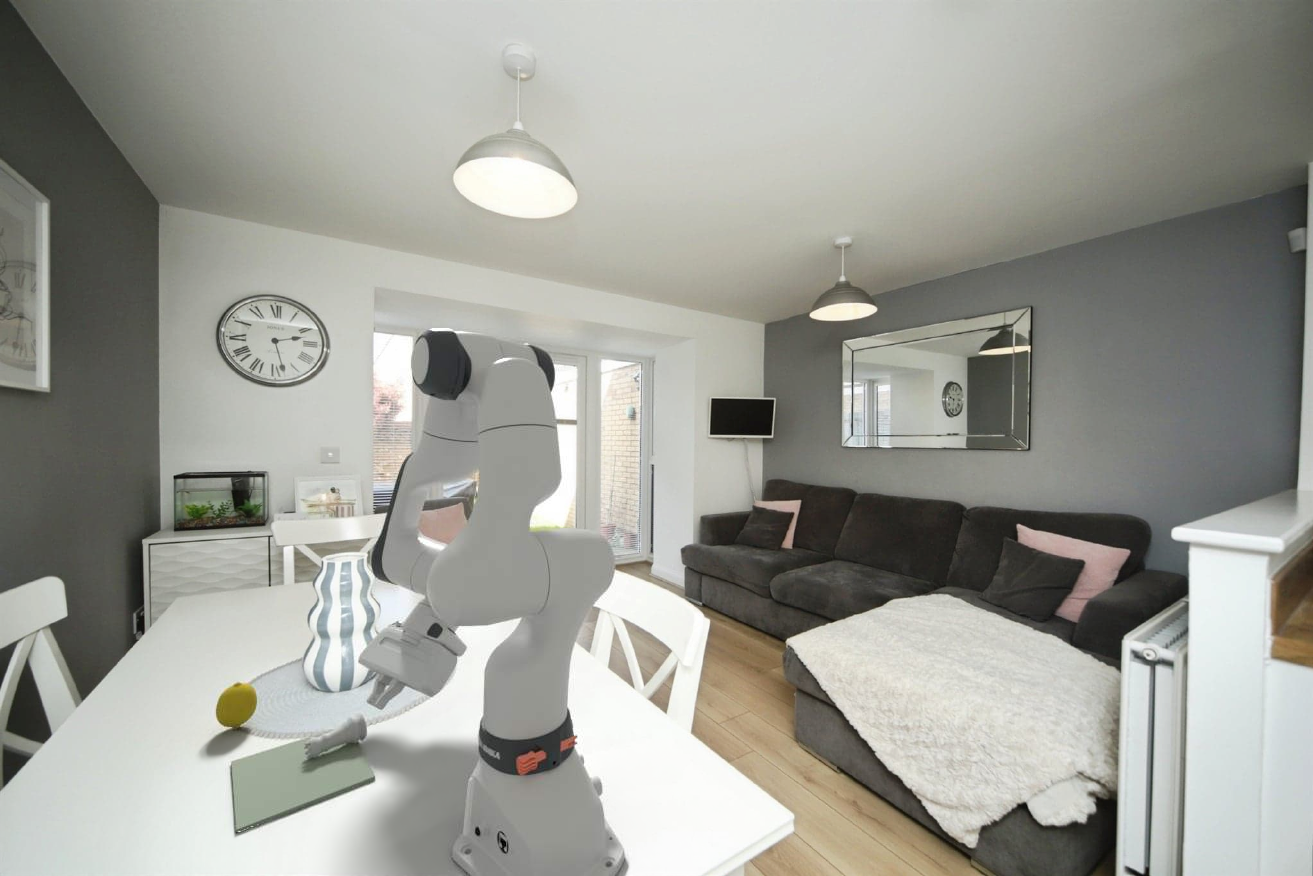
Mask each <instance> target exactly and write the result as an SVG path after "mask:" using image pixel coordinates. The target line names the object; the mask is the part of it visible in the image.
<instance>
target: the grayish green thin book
mask: <svg viewBox="0 0 1313 876" xmlns="http://www.w3.org/2000/svg"><path fill="white" fill-rule="evenodd" d="M334 729H335V728H334ZM334 729H331V730H327V731H323V732H320V733H318V734H315V735H311V736H308V737H305V738H301V739H299V740H294V741H291V742H289V743H286V744H282V745H280V746H276V747H274V748H273V747H272V748H270V749H267V750H264V751H260V752H257V753H253V754H250V755H247V756H244V757H241V758H237V759H234V760H231V761H230V762H231V763H230V766H231V768H232V769H231V779H232V781H233V783H232V794H233V795H234V797H233V806H234V807H233V808H234V810H235V811H234V821H235V822H236V825H235V833H236V832H238V831H242V830H244V829H247V828H249V829H251V828H250V827H251V826H254V827H257V826H258V825H257V824H260V823H262V822H265V823H267V822H269V821H268V820H270V821H272V820H275V819H277V818H279V817H283V816H285V815H287V814H291V813H292V812H296V811H298V810H300V809H303V808H305V807H308V806H311V805H313V804H316V803H319V802H321V801H323V800H327V799H329V798H332V797H334V796H336V795H339V794H342V793H344V792H347V791H350V790H351V789H355V788H358V787H360V786H362V785H365V784H367V783H370V782H373V781H374V780H376V775H375V773H374V771H373V769H372V766H371V764H370V763H369V761H368V759H367V757H366V755H365V752H364V750H363V748H362V746H361V745H360V741H358V742H357V743H355V744H353V743H349V744H347V743H346V744H342V745H339V746H336V747H333V748H331V749H329V750H328V751H327V752H325V751H324V752H322V753H320V754H319V756H318V757H317V758H310V759H307V756H308V754H307V755H306V754H305V752H306V751H308V749H305V748H304V746H305V742H307V741H309V740H310V738H311V737H316V738H317V737H320V736H321V735H322V734H326V733H329V732H331V731H333V730H334ZM271 819H272V820H271ZM266 821H267V822H266ZM235 822H234V823H235ZM262 824H263V823H262ZM256 825H257V826H256ZM260 825H261V824H260ZM247 830H248V829H247ZM244 831H245V830H244ZM242 832H243V831H242Z"/></svg>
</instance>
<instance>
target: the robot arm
mask: <svg viewBox="0 0 1313 876" xmlns="http://www.w3.org/2000/svg"><path fill="white" fill-rule="evenodd" d="M410 369H411V375H412V379H413V380H412V381H413V383H414V385H415V386H416V387H417V388H418V390H420V392H421V393H423V394H425V395H427V396H429V398H428V401H427V405H426V410H425V414H424V418H423V424H422V430H421V436H420V440H419V443H418V445H417V448H416V449H415V450H414V451H413V452H411V453H409V454H408V455H407V456H406V457H405V459H404V460H403V461H402V464H401V467H400V468H399V470H398V471H399V472H398V473H397V477H396V481H395V484H394V488H393V490H392V494H391V497H390V500H389V505H388V509H387V512H386V515H385V520H384V524H383V526H382V529H381V532H380V534H379V536H378V539H377V541H376V542H375V544H374V547H373V549H372V551H371V555H370V565H371V570H372V573H373V576H375V578H376V579H377V580H380V581H381V582H384V583H388V584H392V585H395V586H399V587H402V588H404V589H406V590H409V591H411V592H413V593H416V594H418V595H422V596H424V597H423V598H422V599H420V600H419V601H418V602H417V604H416V605H415V606H414V608H413V609H412V610H411V611H410V613H409V614H408V615H407V616H406V619H405V620H404V621H401V620H396V621H395V622H393V623H391V624H388V626H387V627H385V628H383V629H382V630H381V631H380V632H379V633H377V635H375V637H374V638H373V639H372V640H371V641H370V642H369V643H368V644H367V646H365V648H364V649H363V650H362V651H361V652H360V655H359V656H358V660H357V662H358V664H360V665H361V666H363V668H365V669H367V670H370V671H372V672H374V673H377V674H378V676H377V677H376V678H375V681H374V685H373V689H372V692H371V693H370V695H369V696H368V697H367V699H366V704H369V705H371V706H372V707H375V708H376V709H378V710H380V711H382V710H384V708H386V706H387V705H388V704H389V702H390V701H391V700H393V699H394V698H395V697H397V696H398V695H400V694H401V693H402V692H403V690H404V689H405V687H408V688H410V689H412V690H414V691H417V692H418V693H420V694H423V695H424V696H428V697H430V698H433V697H435V696H436V695H437V694H438V693H440V692H441V690H442V689H443V688H444V687H445V685H446V684H447V682H448V680H449V679H450V677H451V675H452V673H454V671H455V669H456V667H457V664H458V658H460V657H462V656H463V655H464V654H465V652H466V650H467V648H468V647H467V644H465V642H464V641H463V639H461V638H460V637H459V636H458V634H457V633H456V631H457V630H458V629H459V627H480V626H481V627H483V626H484V627H485V626H492V625H495V624H498V623H499V624H500V623H503V622H508V621H513V620H517V619H520V620H519V622H518V624H517V625H516V627H515V629H514V630H513V631H512V632H511V633H510V635H508V637H506V638H505V639H504V640H503V641H502V642H501V643H499V644H498V645H497V646H496V647H495V648H494V649H493V651H492V652H491V654H490V655H489V657H488V659H487V662H486V665H485V667H484V674H483V676H484V679H483V680H484V681H483V710H482V711H483V714H482V716H481V719H480V721H479V722H480V723H479V729H478V734H477V736H478V737H477V741H478V753H479V758H478V761H477V763H476V766H475V768H474V769H473V772H472V773H471V775H470V777H469V779H468V782H467V786H466V787H467V788H466V798H465V808H464V817H463V818H464V819H463V828H462V833H461V834H460V835H459V836H458V838H457V839H456V840H455V842H454V843H453V845H452V851H451V859H453V861H454V862H456V863H457V865H459V866H460V868H462V870H464V872H466V873H467V874H468V875H469V876H616V875H617V874H618V872H619V871H620V869H621V867H622V866H623V863H624V862H625V861H624V860H625V849H624V847H623V845H622V843H621V842H620V839H619V838H618V837H617V835H616V833H615V832H614V830H613V829H612V827H611V826H610V824H609V822H608V821H607V820H606V818H605V812H604V807H603V803H602V799H600V797H601V796H602V795H603V785H602V781H601V779H600V777H599V776H598V775H597V776H596V775H595V776H592V777H590V776H589V772H588V771H587V769H586V766H585V758H584V755H583V754H578V752H577V749H576V747H575V746H576V745H578V742H577V741H576V739H578V735H575V732H574V723H573V720H572V716H571V711H570V709H569V707H568V702H569V701H568V699H569V683H570V682H569V681H570V671H571V670H570V669H571V660H572V655H573V651H574V648H575V643H576V641H577V638H578V635H579V633H580V630H581V629H582V627H583V624H584V622H585V621H586V618H587V616H588V614H589V613H590V611H591V610H592V608H593V607H594V605H595V604H596V602H598V600H599V599H600V598H601V596H603V595H604V594H605V593H606V592H607V591H608V589H609V588H610V586H611V585H612V583H613V579H614V576H615V572H616V558H615V554H614V550H613V548H612V545H611V543H610V542H609V541H608V539H607V538H606V537H605V536H604V534H602V533H601V532H599V531H597V530H592V529H586V528H585V529H583V528H576V527H575V528H574V527H565V528H564V527H563V528H555V529H553V528H552V529H546V530H537V531H531V529H530V524H531V519H532V515H533V513H534V511H535V508H536V507H537V506H539V505H540V504H542V503H544V502H545V501H546V500H548V499H550V497H552V496H553V495H554V494H555V492H556V491H558V489H559V487H560V484H561V483H562V482H561V481H562V479H563V478H562V477H563V476H562V466H561V455H560V444H559V443H560V441H559V434H558V433H559V432H558V431H559V430H558V426H557V425H558V424H557V417H556V416H557V415H556V412H555V411H556V409H555V406H554V400H553V396H552V392H553V389H554V387H555V382H556V381H555V380H556V369H555V365H554V361H553V360H552V357H551V356H550V354H549V353H548V352H547V351H545V350H544V349H542V348H540V347H538V346H535V345H533V344H529V343H524V344H523V343H520V342H518V341H517V342H516V341H513V340H510V339H507V338H502V337H498V336H494V335H493V334H489V333H488V334H487V333H482V332H473V331H472V332H471V331H461V330H460V331H459V330H458V331H455V330H453V329H452V328H443V327H442V328H431V329H426V330H425V331H424V332H422V334H420V335H419V336H418V338H417V339H416V341H415V343H414V347H413V350H412V353H411V357H410ZM477 473H478V486H477V495H476V498H475V499H476V500H475V503H474V505H473V509H472V511H471V513H470V515H469V517H468V519H467V521H466V523H465V524H464V526H463V527H462V529H461V531H460V532H459V533H458V534H457V536H456V537H454V539H453V540H451V542H450V543H448V544H447V543H445V542H441V541H438V540H436V539H433V538H431V537H429V536H426V535H424V534H423V533H422V532H421V530H420V529H419V522H420V520H421V515H422V512H423V509H424V505H425V502H426V498H427V496H428V493H429V491H430V490H431V488H432V487H434V486H438V485H440V486H441V485H449V484H453V483H458V482H462V481H465V480H468V479H470V478H472V477H474V475H476V474H477Z"/></svg>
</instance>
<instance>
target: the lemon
mask: <svg viewBox="0 0 1313 876" xmlns="http://www.w3.org/2000/svg"><path fill="white" fill-rule="evenodd" d="M257 705H258V696H257V693H256V690H255V688H254V686H252V685H251V684H248V683H245V682H240V681H237V682H235V683H234V684H233V685H231V686H229V687H227V688H226V689H225V690H224V691H223V692H222V693H221V694H220V695H219V697H218V700H217V703H216V707H215V716H216V720H217V721H218V724H220V725H221V726H223V727H224V728H225V727H226V728H232V729H233V730H236V729H239V728H240V726H242V725H243V724H245V723H246V722H248V721H249V720H250V719H251V718H252V716H254V713H255V712H256V710H257Z"/></svg>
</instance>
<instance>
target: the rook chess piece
mask: <svg viewBox="0 0 1313 876" xmlns="http://www.w3.org/2000/svg"><path fill="white" fill-rule="evenodd" d="M332 730H333V729H332ZM367 735H368V727H367V722H366V720H365V717H364V715H363V714H362V713H356V714H355V716H349V717H348V718H347V720H346V721H344V722H343V723H342V724H341V725H340V726H338V727H336V728H334V730H333V731H331V732H329V733H326V734H322V735H321V736H320V737H317V738H316V737H311V736H310V737H311V738H310V740H309V741H307V742H305V746H304V748H305V749H308V751H306V752H305V754H306V755H307V754H308V756H307V759H310V758H317V757H318V756H319V754H320V753H322V752H324V751H325V752H327V751H328V750H329V749H331V748H333V747H336V746H339V745H342V744H346V743H347V744H349V743H353V744H355V743H357V742H360V741H362V742H363V741H365V739H366V738H367Z"/></svg>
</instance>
